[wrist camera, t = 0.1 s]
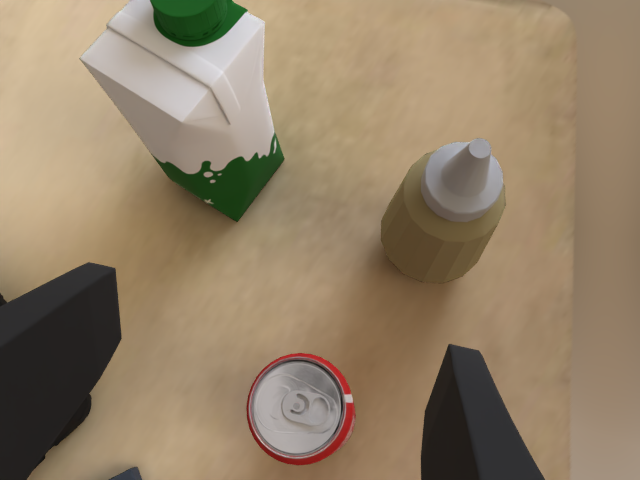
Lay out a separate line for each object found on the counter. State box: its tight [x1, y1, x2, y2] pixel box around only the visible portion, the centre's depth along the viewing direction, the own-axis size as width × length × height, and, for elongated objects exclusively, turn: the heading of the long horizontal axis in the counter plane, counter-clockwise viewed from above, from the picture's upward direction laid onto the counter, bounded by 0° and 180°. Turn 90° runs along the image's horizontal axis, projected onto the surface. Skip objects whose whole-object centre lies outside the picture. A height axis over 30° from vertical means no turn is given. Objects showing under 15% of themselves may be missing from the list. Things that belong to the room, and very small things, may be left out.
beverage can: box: [247, 353, 356, 465], centre depth 35 cm, size 6×6×15 cm
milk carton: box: [79, 0, 284, 222], centre depth 38 cm, size 9×9×20 cm
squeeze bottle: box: [381, 138, 506, 283], centre depth 37 cm, size 8×8×18 cm
